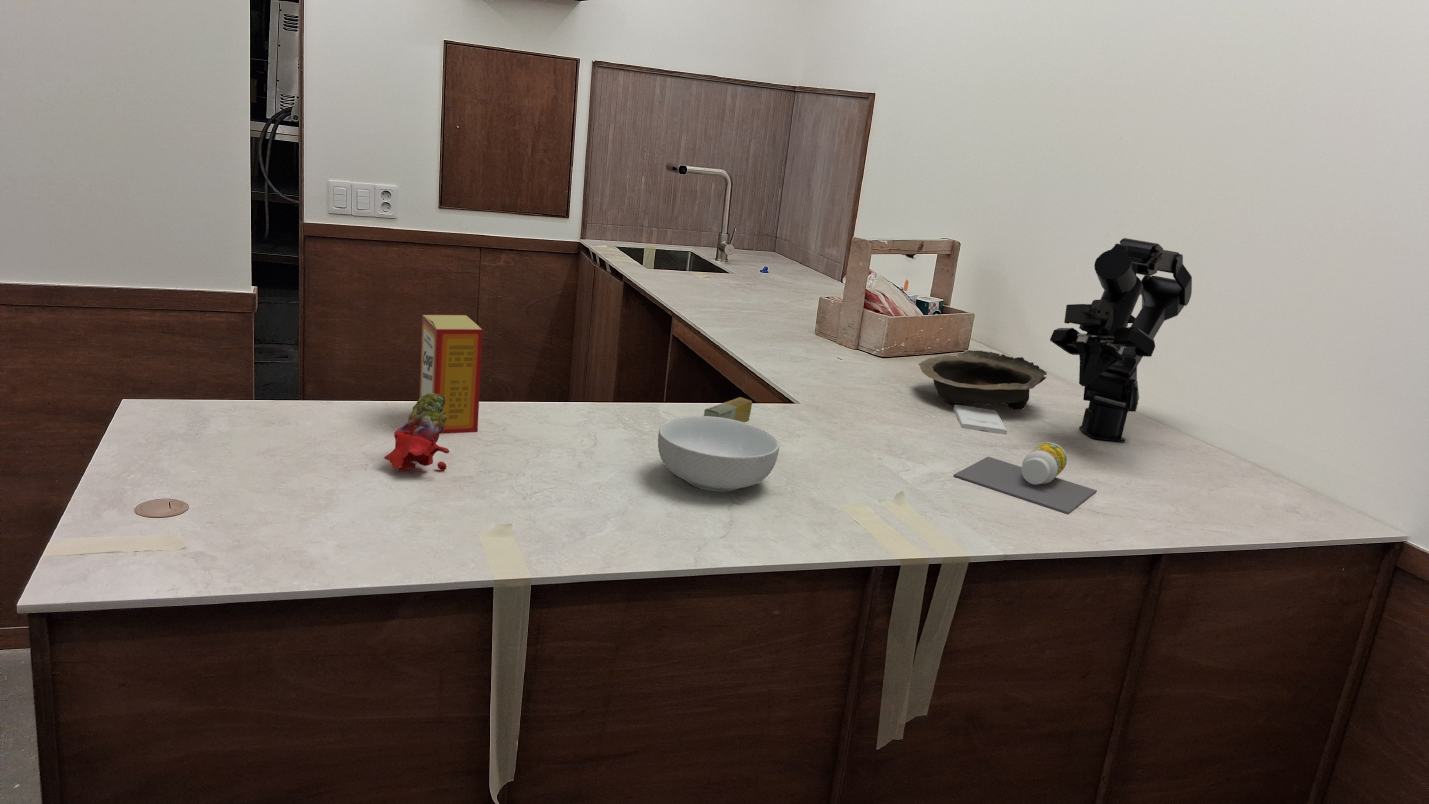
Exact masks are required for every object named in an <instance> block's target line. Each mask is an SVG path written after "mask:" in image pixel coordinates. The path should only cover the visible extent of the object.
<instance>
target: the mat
mask: <svg viewBox="0 0 1429 804" xmlns="http://www.w3.org/2000/svg"><path fill="white" fill-rule="evenodd" d="M953 477H954V478H957V479H960V480H963V481H966V482H968V483H973V484H976V485H978V486H981V487H984V488H987V489H991V490H993V491H996V492H1000V493H1003V494H1005V495H1009V496H1011V497H1015V498H1018V499H1022V500H1024V501H1027V502H1031V503H1032V504H1036V505H1038V506H1039V505H1040V506H1042V507H1045V508H1048V509H1051V510H1054V511H1058V512H1060V513H1064V514H1067V515H1069V514H1070V513H1071V512H1073V511H1074V510H1075V509H1077V508H1078V507H1079V506H1081V505H1082V504H1083V503H1085V502H1086V501H1087V500H1088V499H1089V498H1091V497H1093V495H1095V494H1096V493H1097V489H1094V488H1092V487H1091V488H1090V487H1087V486H1084V485H1081V484H1078V483H1076V482H1075V483H1074V482H1072V481H1068V480H1064V479H1063V478H1058V477H1057V476H1056V477H1055V478H1054V479H1053V480H1052V481H1051V482H1049V483H1046V484H1031V483H1029V482H1027V481H1026V480H1025V479H1024V477H1023V475H1022V466H1019V465H1017V464H1013V463H1010V462H1007V461H1004V460H1000V459H997V458H994V457H991V456H986V457H984V458H982V459H981V460H979V461H976V462H975V463H973V464H971V465H969V466H968V467H965V468H964V469H961V470H960V471H958V472H956V473H954V474H953Z"/></svg>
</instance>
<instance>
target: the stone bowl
mask: <svg viewBox="0 0 1429 804" xmlns="http://www.w3.org/2000/svg"><path fill="white" fill-rule="evenodd" d="M1034 363H1035V362H1030V361H1028V360H1025V358H1024V357H1022V356H1021V357H1019V356H1018V357H1012V356H1007V355H1005V354H1000V353H996V352H992V351H984V350H966V351H964V352H959V353H957V354H956V355H950V354H945V355H940V356H934V357H929V358H926V359H924V360H921V362H919V363H918V365H919V368H920V370H921V372H922V374H924V375H925V376H926V377H928V378H930V379H931V380H933V386H934V387H935V391H936V392H937V395H938V397H939V398H941V399H942V400H943V401H945V402H947V403H948V404H959V405H961V404H962V405H991V406H993V405H1005V404H1006V405H1007V407H1009V408H1010V409H1012V410H1016V411H1020V410H1024V409H1025V408H1026V405H1027V404H1028V401H1029V400H1030V390H1031V389H1034V388H1035V387H1036V386H1038V385H1039V384H1040V383H1042V382H1044V380H1046V379H1047V376H1046V375H1048V374H1047V371H1045V370H1044V369H1043V368H1040V366H1039V365H1035V364H1034Z"/></svg>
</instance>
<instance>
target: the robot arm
mask: <svg viewBox="0 0 1429 804" xmlns="http://www.w3.org/2000/svg"><path fill="white" fill-rule="evenodd" d="M1093 266H1094V270H1095V273H1096V276H1097V278H1098V281H1099V283H1100V285H1101V287H1102V289H1103V292H1102V295H1101V296H1100V299H1094V300H1092V302H1091V303H1085V304H1084V303H1077V304H1076V303H1074V304H1066V308H1065V314H1064V319H1063V320H1064V324H1074V325H1078V328H1079V330H1081V331H1082V332H1086V333H1081V332H1079V331H1078V330H1077V329H1075V328H1074V327H1059V328H1056V329H1054V330H1052V331H1053V332H1052V334H1051V336H1050V339H1049V341H1050V342H1051V343H1053V344H1054V345H1056V346H1057V347H1059V348H1060V349H1062V351H1065V352H1066V353H1067V354H1069V355H1072V356H1079V373H1078V374H1079V375H1078V376H1079V377H1078V384H1079V386H1081V387H1083V388H1084V389H1083V400H1082V401H1086V402H1089V403H1088V407H1086V408H1085V410H1084V413H1083V417H1082V422H1081V425H1079V430H1081V431H1082V432H1083V433H1085V434H1086V435H1088V437H1090V438H1091V439H1094V440H1104V441H1114V442H1123V443H1125V442H1126V438H1125V437H1123V434H1124V433H1123V432H1124V428H1125V426H1126V425H1125V424H1126V421H1127V417H1128V413H1129V412H1133V413H1135V412H1137V409H1138V405H1139V399H1140V395H1139V394H1140V393H1139V385H1138V376H1137V375H1138V366H1139V364H1140V363H1141V360H1142V359H1143V357H1147V358H1148V357H1149V358H1150V357H1152V356H1153V353H1154V350H1155V349H1156V343H1155V337H1156V335H1157V334H1158V332H1159V330H1160V329H1161V327H1162V326H1163V324H1164V322H1165V321H1167V320H1169V319H1172V318H1175V317H1177V316H1179V314H1180V313H1181V312H1182V310H1183V309H1184V308H1185V307H1187V306H1188V304H1189V303H1190V301H1191V297H1192V288H1193V283H1192V282H1193V278H1192V277H1193V276H1192V275H1191V273H1190V272H1189V270H1188V269H1187V268H1186V266H1185V265H1184V255H1183V254H1182V253H1180V252H1177V251H1173V250H1166V249H1164V247H1163V246H1161V245H1160V244H1159V243H1157V242H1149V241H1144V240H1138V239H1132V238H1127V237H1124V238H1121V239H1120V240H1119V243H1118V242H1117V243H1115V244H1114V246H1113V247H1112V248H1111V249H1109V250H1106V251H1104V252H1102V253H1101V254H1100V255H1099V256H1098V257H1097V258H1096V260H1095V261H1094V265H1093ZM1158 271H1159V272H1164V273H1168V274H1169V273H1170V274H1172V275H1173V276H1172V277H1173V278H1169V277H1164V276H1158V275H1156V274H1157V273H1158ZM1138 275H1141V276H1143V277H1142V279H1140V278H1139V277H1138ZM1140 296H1141V309H1140V311H1139V312H1138V314H1137V315H1136V317H1135V316H1134V315H1132V314H1133V312H1134V309H1135V307H1136V305H1137V302H1138V300H1139V297H1140ZM1128 324H1131V325H1130V326H1129V327H1127V326H1128Z"/></svg>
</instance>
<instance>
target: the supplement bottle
mask: <svg viewBox="0 0 1429 804" xmlns="http://www.w3.org/2000/svg"><path fill="white" fill-rule="evenodd" d="M1067 463H1068V456H1067V452H1066V451H1065V450H1064V448H1063V447H1061V446H1060V445H1058V444H1057V443H1053V442H1043V443H1040V444H1039V445H1038V446H1036V447H1035V448H1034V449H1033V450H1031V451H1030V452H1028V453H1027V454H1026V456H1025V457H1024V458H1023V460H1022V463H1021V467H1022V475H1023V477H1024V479H1025V480H1026V481H1027V482H1029V483H1031V484H1046V483H1049V482H1051V481H1052V480H1053V479H1054V478H1055V477H1056V478H1057V476H1058V475H1060V474H1061V472H1063V471H1064V469H1065V468H1066V466H1067Z"/></svg>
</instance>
